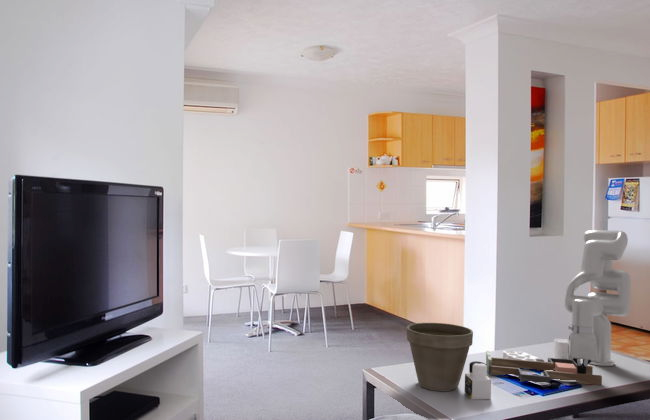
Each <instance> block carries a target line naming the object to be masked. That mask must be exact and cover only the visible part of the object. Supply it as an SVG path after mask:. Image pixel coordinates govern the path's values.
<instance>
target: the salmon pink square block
mask: <svg viewBox="0 0 650 420" xmlns="http://www.w3.org/2000/svg"><path fill="white" fill-rule="evenodd" d="M555 371H557V372H568V373H577V368H576V367H575V366H574V364H567V363H557V362H555Z"/></svg>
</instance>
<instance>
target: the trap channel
mask: <svg viewBox="0 0 650 420" xmlns="http://www.w3.org/2000/svg"><path fill="white" fill-rule="evenodd" d="M485 353H486V354H485V358H486V359H485V360H486V361H485V362H486V363H485V364H486V365H487V375H488V376H497V375H506V374H515V375H519V378H520V381H519V383H520V382H523V381H536V382H548V383H550V384H551V381H550V379H560V380H576V381H578V382H579V383H578V384H582V385H583V384H585V385H595V386H602V384H603V383H602V382H603V376H602V375H598V374H593V372H594V371H593V369H594V367H593V365H587V366H586V374H579V373H568V372H557V371H554V370H555V362H557V363H567V364H574V366H575V367H576V368H577V364H576V363H575V362H574V361H572V360H569V359H557V358H555V357H547V361H545V362H540V361H528V360H517V359H505V358H503V357H492V356H491V353H490V350H489V351H488V350H487V351H486V352H485ZM520 368H526V369H525V370H529V369H537V370H536V371H540V370H544V371H543V375H539V374H538V375H537V374H525V373H523V371H522V369H520ZM546 370H553V371H546Z"/></svg>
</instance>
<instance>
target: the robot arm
mask: <svg viewBox="0 0 650 420" xmlns="http://www.w3.org/2000/svg"><path fill="white" fill-rule="evenodd" d="M628 239H629V238H628V235H627V233H626V232H625V231H622V230H609V229H608V230H605V229H591V230H587V231H585V232H584V234H583V241H584V246H583V251H582V258H581V266H580V272H579V273H578V274H577V275H576V276H574V277H573V278H572V279H571V280H570V281H569V283H568V285H567V288H566V291H565V292H566V293H565V297H564V298H565V299H564V308H565V310H566V311H567V313H568V312H569V313H570V314H572V315H571V317H572V319H571V321H572V322H571V325H568V327H567V328H568V330H571V331H570V333H569V334H568V335H569V336H568V340H569V341H568V356H567V358H568V359H569V360H572V361H574V362H575V363H576V364H577V373H579V374H586V366H589V365H592V366H593V365H594V366H599V367H611V366H612V367H613V366H614V365H615V361H614V360H612V359H611V358H612V357H611V356H612V354H611V353H612V323H611V321H610V320H609V318H608V317H607V316H606V315H608V316H615V317H627V316H628V315H629V314H630V309H631V295H632V294H631V292H632V289H631V288H632V281H631V275H630V273H629V272H627V271H625V270H622V269H613V261H619V260H621V258H622V257H623V255H624V253H625V250H626V248H627V246H628ZM589 282H590V285H591V287H592V288H593V289H596V290H603V291H612V292H617V293H618V294H617V293H608V292H601V291H600V292H598V291H595V292H589V293H588V294H587V295H586V296H585V295H584V296H583V295H575V293H576V290H577V289H578V288H579V287H580V286H583V285H585V284H587V283H589ZM581 360H582V362H581Z"/></svg>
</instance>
